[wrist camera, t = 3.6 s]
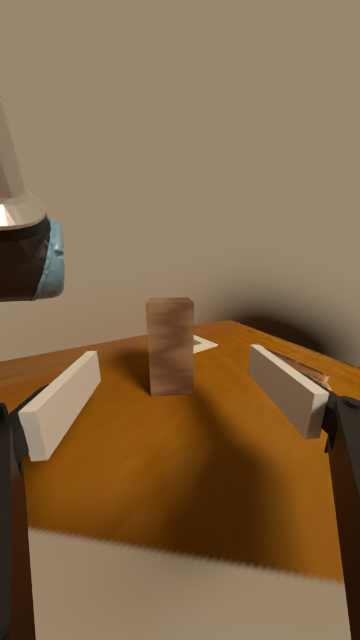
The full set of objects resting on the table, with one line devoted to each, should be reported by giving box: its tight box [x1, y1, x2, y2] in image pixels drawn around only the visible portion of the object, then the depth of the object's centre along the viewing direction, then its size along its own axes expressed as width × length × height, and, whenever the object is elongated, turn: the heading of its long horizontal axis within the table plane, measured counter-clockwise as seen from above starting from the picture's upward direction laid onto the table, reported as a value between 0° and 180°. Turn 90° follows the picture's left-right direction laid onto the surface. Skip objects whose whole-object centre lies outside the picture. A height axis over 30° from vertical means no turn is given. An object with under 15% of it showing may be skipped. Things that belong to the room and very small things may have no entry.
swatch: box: [193, 335, 218, 353], centre depth 36 cm, size 9×9×1 cm
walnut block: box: [146, 298, 194, 396], centre depth 21 cm, size 5×5×11 cm
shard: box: [265, 348, 331, 391], centre depth 25 cm, size 11×8×2 cm
